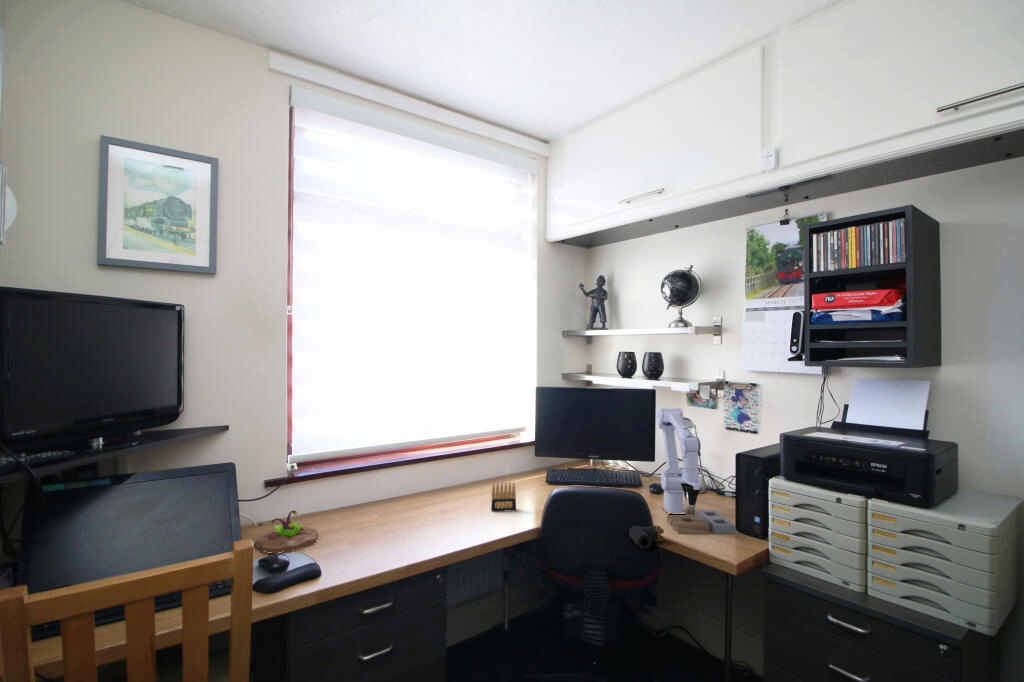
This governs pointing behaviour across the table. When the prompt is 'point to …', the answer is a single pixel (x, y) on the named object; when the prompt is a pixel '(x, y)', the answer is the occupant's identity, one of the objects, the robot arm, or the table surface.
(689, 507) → the steel peg
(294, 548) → the plant
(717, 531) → the tool rack
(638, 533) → the pipe connector
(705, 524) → the socket block
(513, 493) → the ammunition clip
